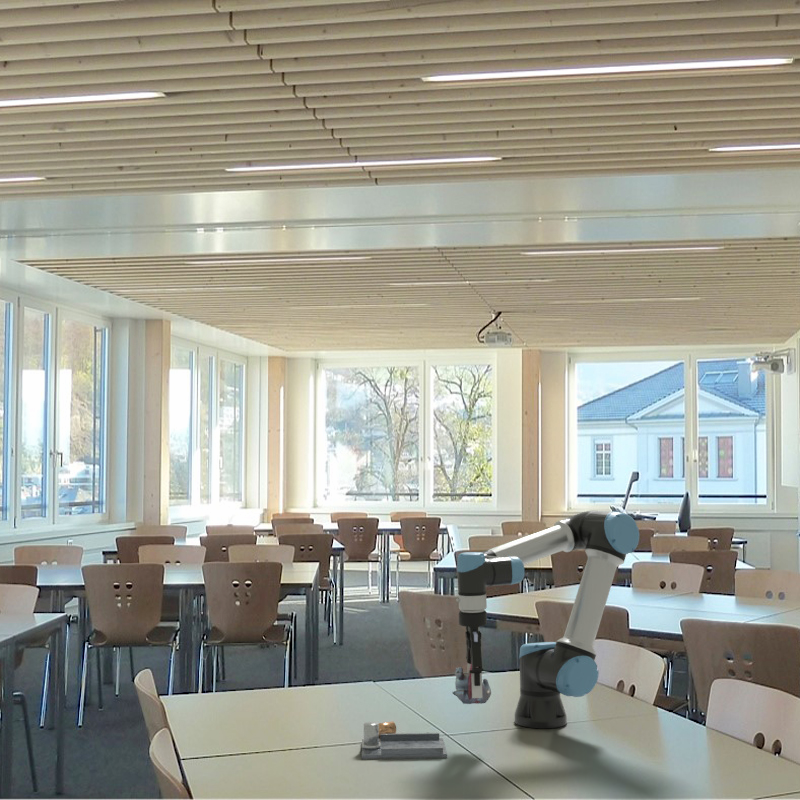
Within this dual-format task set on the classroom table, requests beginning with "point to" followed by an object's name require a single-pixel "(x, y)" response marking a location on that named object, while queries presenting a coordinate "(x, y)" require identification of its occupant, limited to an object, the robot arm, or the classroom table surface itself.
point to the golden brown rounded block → (387, 728)
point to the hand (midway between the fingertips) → (475, 692)
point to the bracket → (400, 744)
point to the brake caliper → (469, 688)
